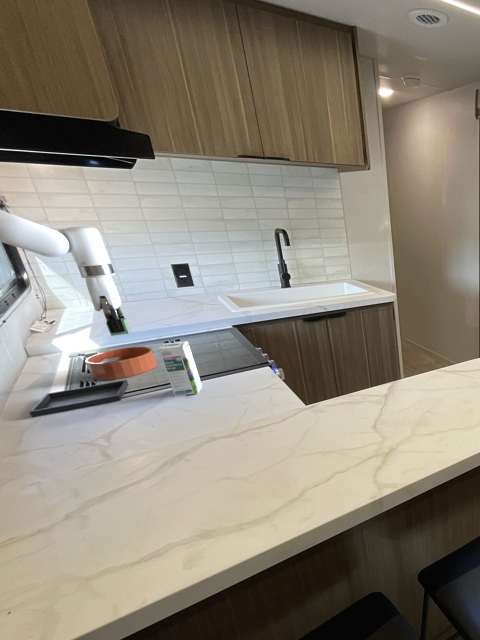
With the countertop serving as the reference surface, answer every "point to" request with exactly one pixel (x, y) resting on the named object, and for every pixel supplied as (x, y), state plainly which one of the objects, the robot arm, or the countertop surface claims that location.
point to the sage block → (126, 327)
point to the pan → (79, 398)
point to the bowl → (121, 363)
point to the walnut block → (111, 360)
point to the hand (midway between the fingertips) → (119, 329)
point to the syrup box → (180, 368)
